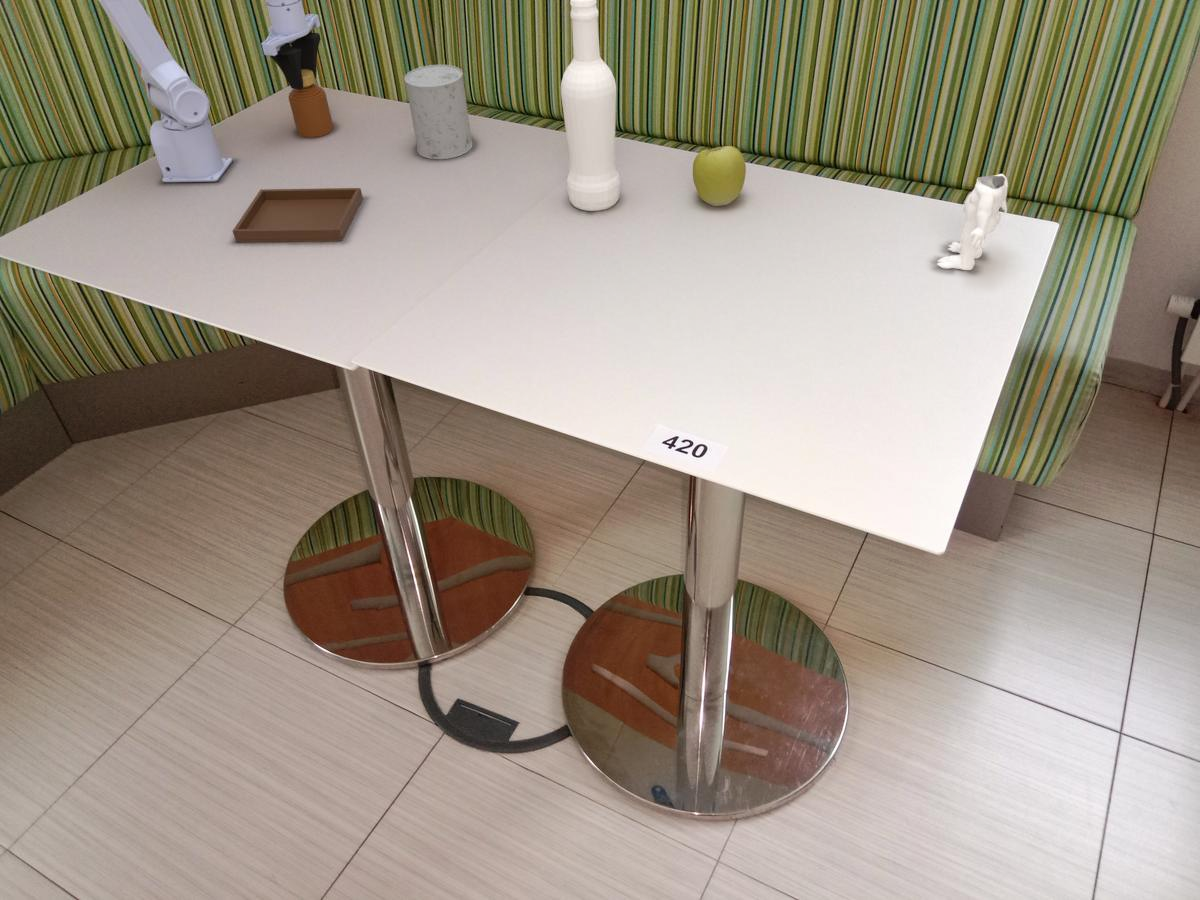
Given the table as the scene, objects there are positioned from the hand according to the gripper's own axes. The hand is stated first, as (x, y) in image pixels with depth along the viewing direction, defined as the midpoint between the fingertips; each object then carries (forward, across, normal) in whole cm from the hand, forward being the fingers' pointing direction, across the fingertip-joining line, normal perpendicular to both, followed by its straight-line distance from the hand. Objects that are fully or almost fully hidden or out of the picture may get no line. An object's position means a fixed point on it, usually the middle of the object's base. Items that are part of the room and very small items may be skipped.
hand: (304, 83), depth 168 cm
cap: (-1, 0, 0) cm, 1 cm away
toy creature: (+9, +18, +112) cm, 114 cm away
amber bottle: (+8, 0, 0) cm, 8 cm away
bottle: (+9, +13, +58) cm, 60 cm away
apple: (+9, +8, +76) cm, 77 cm away
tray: (+8, +30, +16) cm, 35 cm away
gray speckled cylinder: (+9, +1, +26) cm, 28 cm away
